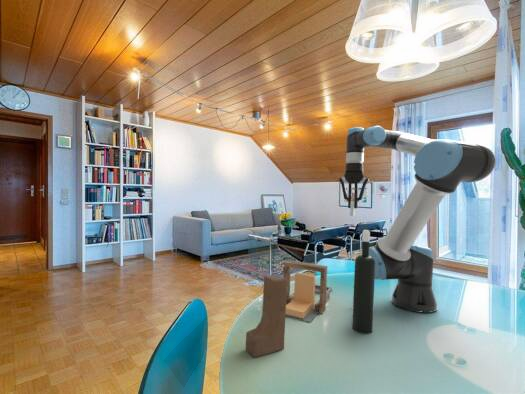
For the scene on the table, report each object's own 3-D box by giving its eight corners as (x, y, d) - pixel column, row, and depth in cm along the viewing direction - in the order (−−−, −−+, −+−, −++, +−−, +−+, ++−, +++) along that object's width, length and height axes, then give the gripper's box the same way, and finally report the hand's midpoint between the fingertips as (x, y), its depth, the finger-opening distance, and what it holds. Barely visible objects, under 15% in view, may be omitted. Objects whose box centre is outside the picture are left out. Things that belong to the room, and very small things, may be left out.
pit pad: (313, 287, 126) (313, 284, 126) (331, 290, 123) (331, 287, 123) (308, 291, 119) (308, 289, 119) (327, 295, 116) (327, 292, 116)
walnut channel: (297, 292, 117) (299, 255, 117) (333, 300, 110) (335, 260, 111) (282, 304, 103) (284, 262, 103) (322, 314, 96) (324, 268, 96)
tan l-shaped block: (295, 302, 104) (297, 272, 104) (314, 306, 101) (315, 275, 101) (282, 313, 94) (284, 280, 94) (303, 318, 90) (304, 284, 91)
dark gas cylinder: (348, 326, 87) (352, 229, 88) (362, 324, 90) (366, 229, 90) (361, 335, 82) (365, 231, 82) (376, 332, 84) (380, 231, 85)
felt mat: (287, 304, 104) (287, 303, 104) (319, 311, 99) (320, 310, 99) (275, 314, 94) (275, 313, 94) (310, 322, 89) (310, 321, 89)
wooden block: (253, 358, 67) (257, 282, 68) (244, 349, 71) (248, 277, 71) (284, 349, 72) (287, 278, 72) (274, 341, 76) (277, 274, 76)
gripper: (371, 164, 128) (368, 216, 128) (341, 164, 134) (339, 214, 133) (369, 161, 121) (366, 217, 121) (338, 162, 127) (335, 215, 127)
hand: (352, 215), depth 127 cm, fingers closed
